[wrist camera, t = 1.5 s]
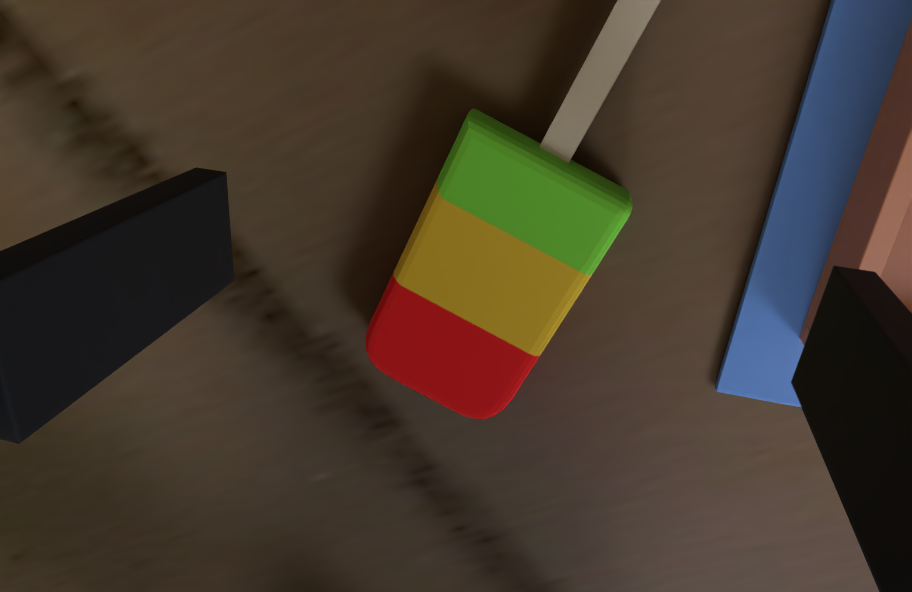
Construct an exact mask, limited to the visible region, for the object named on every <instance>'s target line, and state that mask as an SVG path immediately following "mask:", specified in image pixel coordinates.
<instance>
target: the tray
mask: <svg viewBox="0 0 912 592" xmlns="http://www.w3.org/2000/svg"><path fill="white" fill-rule="evenodd" d="M833 266H840V267H847V268H853V269H860V270H866V271H873V272H876V273H877V274H878V275H879V277H880V278H881V279H882V280H883V281H884V282H885V283H886V285H887V286H888V287H889V288H890V289H891V290H892V291H893V293H894V294H895V295H896V296H897V297H898V298H899V299H900V300H901V302H902V303H903V304H904V305H905V306H906V307H907V308H908V310H909V311H910V312H911V313H912V20H911V22H910V25H909V28H908V31H907V34H906V37H905V39H904V42H903V45H902V48H901V51H900V54H899V56H898V59H897V62H896V65H895V68H894V71H893V73H892V76H891V79H890V82H889V85H888V88H887V90H886V93H885V96H884V99H883V102H882V105H881V107H880V110H879V113H878V116H877V119H876V121H875V124H874V127H873V130H872V133H871V136H870V138H869V141H868V144H867V147H866V150H865V153H864V155H863V158H862V161H861V164H860V167H859V170H858V172H857V175H856V178H855V181H854V184H853V187H852V189H851V192H850V195H849V198H848V201H847V204H846V206H845V209H844V212H843V215H842V218H841V221H840V223H839V226H838V229H837V232H836V235H835V238H834V240H833V243H832V246H831V249H830V252H829V254H828V257H827V260H826V263H825V266H824V269H823V271H822V274H821V277H820V280H819V283H818V286H817V288H816V291H815V294H814V297H813V300H812V303H811V305H810V308H809V311H808V314H807V317H806V320H805V322H804V325H803V328H802V331H801V334H800V337H799V338H800V340H801V341H802V343H803V345H805V342H806V340H807V337H808V334H809V331H810V329H811V326H812V323H813V320H814V318H815V315H816V312H817V310H818V307H819V304H820V301H821V299H822V296H823V293H824V290H825V288H826V285H827V282H828V279H829V277H830V274H831V271H832V269H833Z"/></svg>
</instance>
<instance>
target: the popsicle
mask: <svg viewBox="0 0 912 592" xmlns="http://www.w3.org/2000/svg"><path fill="white" fill-rule="evenodd" d="M660 1H661V0H618V1H617V3H616V4H615V6H614V8H613V10H612V12H611V14H610V16H609V18H608V19H607V21H606V23H605V25H604V27H603V29H602V31H601V32H600V34H599V36H598V38H597V40H596V42H595V44H594V46H593V47H592V49H591V51H590V53H589V55H588V57H587V59H586V60H585V62H584V64H583V66H582V68H581V70H580V72H579V73H578V75H577V77H576V79H575V81H574V83H573V85H572V87H571V88H570V90H569V92H568V94H567V96H566V98H565V100H564V101H563V103H562V105H561V107H560V109H559V111H558V113H557V115H556V116H555V118H554V120H553V122H552V124H551V126H550V128H549V129H548V131H547V133H546V135H545V137H544V139H543V141H542V142H541V144H540V143H539V142H537V141H535V140H533V139H531V138H529V137H527V136H525V135H524V134H522V133H520V132H518V131H516V130H514V129H512V128H510V127H509V126H507V125H505V124H503V123H501V122H499V121H497V120H495V119H493V118H492V117H490V116H488V115H486V114H484V113H482V112H480V111H478V110H477V109H472V110H470V111H469V112H468V114H467V117H466V119H465V121H464V123H463V125H462V127H461V129H460V132H459V134H458V136H457V138H456V140H455V142H454V144H453V146H452V149H451V151H450V153H449V155H448V157H447V159H446V161H445V164H444V166H443V168H442V170H441V172H440V174H439V176H438V178H437V181H436V183H435V185H434V187H433V189H432V191H431V193H430V195H429V198H428V200H427V202H426V204H425V206H424V208H423V210H422V213H421V215H420V217H419V219H418V221H417V223H416V225H415V228H414V230H413V232H412V234H411V236H410V238H409V240H408V242H407V245H406V247H405V249H404V251H403V253H402V255H401V257H400V260H399V262H398V264H397V266H396V268H395V270H394V272H393V274H392V277H391V279H390V281H389V283H388V285H387V287H386V289H385V292H384V294H383V296H382V298H381V300H380V302H379V304H378V306H377V309H376V311H375V313H374V315H373V317H372V319H371V321H370V324H369V327H368V330H367V333H366V336H365V343H366V352H367V355H368V357H369V359H370V361H371V362H372V363H373V364H374V365H375V366H376V367H377V368H378V369H379V370H380V371H382V372H383V373H385V374H386V375H388V376H389V377H391V378H392V379H394V380H396V381H398V382H400V383H402V384H404V385H405V386H407V387H409V388H411V389H413V390H415V391H417V392H419V393H421V394H422V395H424V396H426V397H428V398H430V399H432V400H434V401H436V402H437V403H439V404H441V405H443V406H445V407H447V408H449V409H451V410H452V411H455V412H457V413H459V414H462V415H464V416H466V417H470V418H475V419H485V418H491V417H493V416H494V415H496V414H497V413H499V412H501V411H502V410H504V408H505V407H506V406H507V405H508V404H509V403H510V401H511V400H512V399H513V397H514V396H515V394H516V393H517V391H518V389H519V388H520V386H521V385H522V383H523V382H524V380H525V379H526V377H527V375H528V374H529V372H530V371H531V369H532V368H533V366H534V364H535V363H536V361H537V360H538V358H539V357H540V355H541V354H542V352H543V350H544V349H545V347H546V346H547V344H548V343H549V341H550V340H551V338H552V336H553V335H554V333H555V332H556V330H557V329H558V327H559V326H560V324H561V322H562V321H563V319H564V318H565V316H566V315H567V313H568V311H569V310H570V308H571V307H572V305H573V304H574V302H575V301H576V299H577V297H578V296H579V294H580V293H581V291H582V290H583V288H584V287H585V285H586V283H587V282H588V280H589V279H590V277H591V276H592V274H593V272H594V271H595V269H596V268H597V266H598V265H599V263H600V262H601V260H602V258H603V257H604V255H605V254H606V252H607V251H608V249H609V248H610V246H611V244H612V243H613V241H614V240H615V238H616V237H617V235H618V233H619V232H620V230H621V229H622V227H623V226H624V224H625V223H626V221H627V219H628V218H629V216H630V214H631V211H632V197H631V195H630V193H629V192H628V190H626V189H625V188H623V187H621V186H619V185H617V184H615V183H614V182H612V181H610V180H608V179H606V178H604V177H602V176H600V175H599V174H597V173H595V172H593V171H591V170H589V169H587V168H585V167H584V166H582V165H580V164H578V163H576V162H574V161H572V160H571V158H572V156H573V154H574V153H575V151H576V149H577V147H578V145H579V144H580V142H581V140H582V138H583V137H584V135H585V133H586V131H587V130H588V128H589V126H590V124H591V123H592V121H593V119H594V117H595V115H596V114H597V112H598V110H599V108H600V107H601V105H602V103H603V101H604V100H605V98H606V96H607V94H608V93H609V91H610V89H611V87H612V85H613V84H614V82H615V80H616V78H617V77H618V75H619V73H620V71H621V70H622V68H623V66H624V64H625V62H626V61H627V59H628V57H629V55H630V54H631V52H632V50H633V48H634V47H635V45H636V43H637V41H638V40H639V38H640V36H641V34H642V32H643V31H644V29H645V27H646V25H647V24H648V22H649V20H650V18H651V17H652V15H653V13H654V11H655V10H656V8H657V6H658V4H659V2H660Z"/></svg>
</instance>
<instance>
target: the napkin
mask: <svg viewBox="0 0 912 592" xmlns="http://www.w3.org/2000/svg"><path fill="white" fill-rule="evenodd" d="M911 20H912V0H831V4H830V7H829V10H828V13H827V17H826V20H825V23H824V27H823V30H822V33H821V37H820V40H819V43H818V47H817V50H816V53H815V57H814V60H813V63H812V67H811V70H810V73H809V76H808V80H807V83H806V86H805V90H804V93H803V96H802V100H801V103H800V106H799V110H798V113H797V116H796V120H795V123H794V126H793V129H792V133H791V136H790V139H789V143H788V146H787V149H786V153H785V156H784V159H783V163H782V166H781V169H780V173H779V176H778V179H777V183H776V186H775V189H774V192H773V196H772V199H771V202H770V206H769V209H768V212H767V216H766V219H765V222H764V226H763V229H762V232H761V236H760V239H759V242H758V245H757V249H756V252H755V255H754V259H753V262H752V265H751V269H750V272H749V275H748V279H747V282H746V285H745V289H744V292H743V295H742V299H741V302H740V305H739V308H738V312H737V315H736V318H735V322H734V325H733V328H732V332H731V335H730V338H729V342H728V345H727V348H726V352H725V355H724V358H723V361H722V365H721V368H720V371H719V375H718V378H717V381H716V385H715V389H716V391H717V392H722V393H728V394H733V395H739V396H744V397H749V398H755V399H760V400H766V401H771V402H776V403H782V404H787V405H793V406H798V407H801V405H800V402H799V400H798V398H797V395H796V393H795V391H794V388H793V386H792V384H791V381H792V378H793V375H794V372H795V370H796V367H797V364H798V361H799V359H800V356H801V353H802V351H803V348H804V345H803V343H802V341H801V340H800V338H799V337H800V334H801V331H802V328H803V325H804V322H805V320H806V317H807V314H808V311H809V308H810V305H811V303H812V300H813V297H814V294H815V291H816V288H817V286H818V283H819V280H820V277H821V274H822V271H823V269H824V266H825V263H826V260H827V257H828V254H829V252H830V249H831V246H832V243H833V240H834V238H835V235H836V232H837V229H838V226H839V223H840V221H841V218H842V215H843V212H844V209H845V206H846V204H847V201H848V198H849V195H850V192H851V189H852V187H853V184H854V181H855V178H856V175H857V172H858V170H859V167H860V164H861V161H862V158H863V155H864V153H865V150H866V147H867V144H868V141H869V138H870V136H871V133H872V130H873V127H874V124H875V121H876V119H877V116H878V113H879V110H880V107H881V105H882V102H883V99H884V96H885V93H886V90H887V88H888V85H889V82H890V79H891V76H892V73H893V71H894V68H895V65H896V62H897V59H898V56H899V54H900V51H901V48H902V45H903V42H904V39H905V37H906V34H907V31H908V28H909V25H910V22H911Z"/></svg>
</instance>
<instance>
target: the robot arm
mask: <svg viewBox="0 0 912 592" xmlns="http://www.w3.org/2000/svg"><path fill="white" fill-rule="evenodd" d="M233 281H234V273H233V259H232V245H231V231H230V217H229V203H228V189H227V175H226V172H222V171H215V170H209V169H202V168H194V169H192V170H189V171H187V172H185V173H182V174H180V175H178V176H175V177H173V178H171V179H168V180H166V181H164V182H161V183H159V184H157V185H154V186H152V187H150V188H147V189H145V190H143V191H140V192H138V193H135V194H133V195H131V196H128V197H126V198H124V199H121V200H119V201H117V202H114V203H112V204H110V205H107V206H105V207H103V208H100V209H98V210H96V211H93V212H91V213H89V214H86V215H84V216H82V217H79V218H77V219H75V220H72V221H70V222H68V223H65V224H63V225H61V226H58V227H56V228H54V229H51V230H49V231H47V232H44V233H42V234H40V235H37V236H35V237H33V238H30V239H28V240H26V241H23V242H21V243H18V244H16V245H14V246H11V247H9V248H7V249H4V250H2V251H0V439H1V440H5V441H10V442H14V443H18V444H19V443H21V442H22V441H23V440H25V439H26V438H27V437H29V436H30V435H31V434H33V433H34V432H35V431H37V430H38V429H39V428H40V427H42V426H43V425H44V424H46V423H47V422H48V421H50V420H51V419H52V418H54V417H55V416H56V415H58V414H59V413H60V412H62V411H63V410H64V409H65V408H67V407H68V406H69V405H71V404H72V403H73V402H75V401H76V400H77V399H79V398H80V397H81V396H83V395H84V394H85V393H87V392H88V391H89V390H91V389H92V388H93V387H94V386H96V385H97V384H98V383H100V382H101V381H102V380H104V379H105V378H106V377H108V376H109V375H110V374H112V373H113V372H114V371H116V370H117V369H118V368H119V367H121V366H122V365H123V364H125V363H126V362H127V361H129V360H130V359H131V358H133V357H134V356H135V355H137V354H138V353H139V352H141V351H142V350H143V349H144V348H146V347H147V346H148V345H150V344H151V343H152V342H154V341H155V340H156V339H158V338H159V337H160V336H162V335H163V334H164V333H166V332H167V331H168V330H170V329H171V328H172V327H173V326H175V325H176V324H177V323H179V322H180V321H181V320H183V319H184V318H185V317H187V316H188V315H189V314H191V313H192V312H193V311H195V310H196V309H197V308H198V307H200V306H201V305H202V304H204V303H205V302H206V301H208V300H209V299H210V298H212V297H213V296H214V295H216V294H217V293H218V292H220V291H221V290H222V289H224V288H225V287H226V286H227V285H229V284H230V283H231V282H233ZM791 384H792V386H793V388H794V391H795V393H796V395H797V398H798V400H799V402H800V405H801V407H802V410H803V412H804V414H805V417H806V419H807V421H808V424H809V426H810V428H811V431H812V433H813V436H814V438H815V440H816V443H817V445H818V447H819V450H820V452H821V454H822V457H823V459H824V462H825V464H826V466H827V469H828V471H829V473H830V476H831V478H832V480H833V483H834V485H835V488H836V490H837V492H838V495H839V497H840V499H841V502H842V504H843V506H844V509H845V511H846V514H847V516H848V518H849V521H850V523H851V525H852V528H853V530H854V532H855V535H856V537H857V540H858V542H859V544H860V547H861V549H862V551H863V554H864V556H865V559H866V561H867V563H868V566H869V568H870V570H871V573H872V575H873V577H874V580H875V582H876V585H877V587H878V589H879V592H912V313H911V312H910V311H909V310H908V308H907V307H906V306H905V305H904V304H903V303H902V302H901V300H900V299H899V298H898V297H897V296H896V295H895V294H894V293H893V291H892V290H891V289H890V288H889V287H888V286H887V285H886V283H885V282H884V281H883V280H882V279H881V278H880V277H879V275H878V274H877V273H876V272H873V271H866V270H860V269H853V268H847V267H840V266H833V269H832V271H831V274H830V277H829V279H828V282H827V285H826V288H825V290H824V293H823V296H822V299H821V301H820V304H819V307H818V310H817V312H816V315H815V318H814V320H813V323H812V326H811V329H810V331H809V334H808V337H807V340H806V342H805V345H804V348H803V351H802V353H801V356H800V359H799V361H798V364H797V367H796V370H795V372H794V375H793V378H792V381H791Z"/></svg>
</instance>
